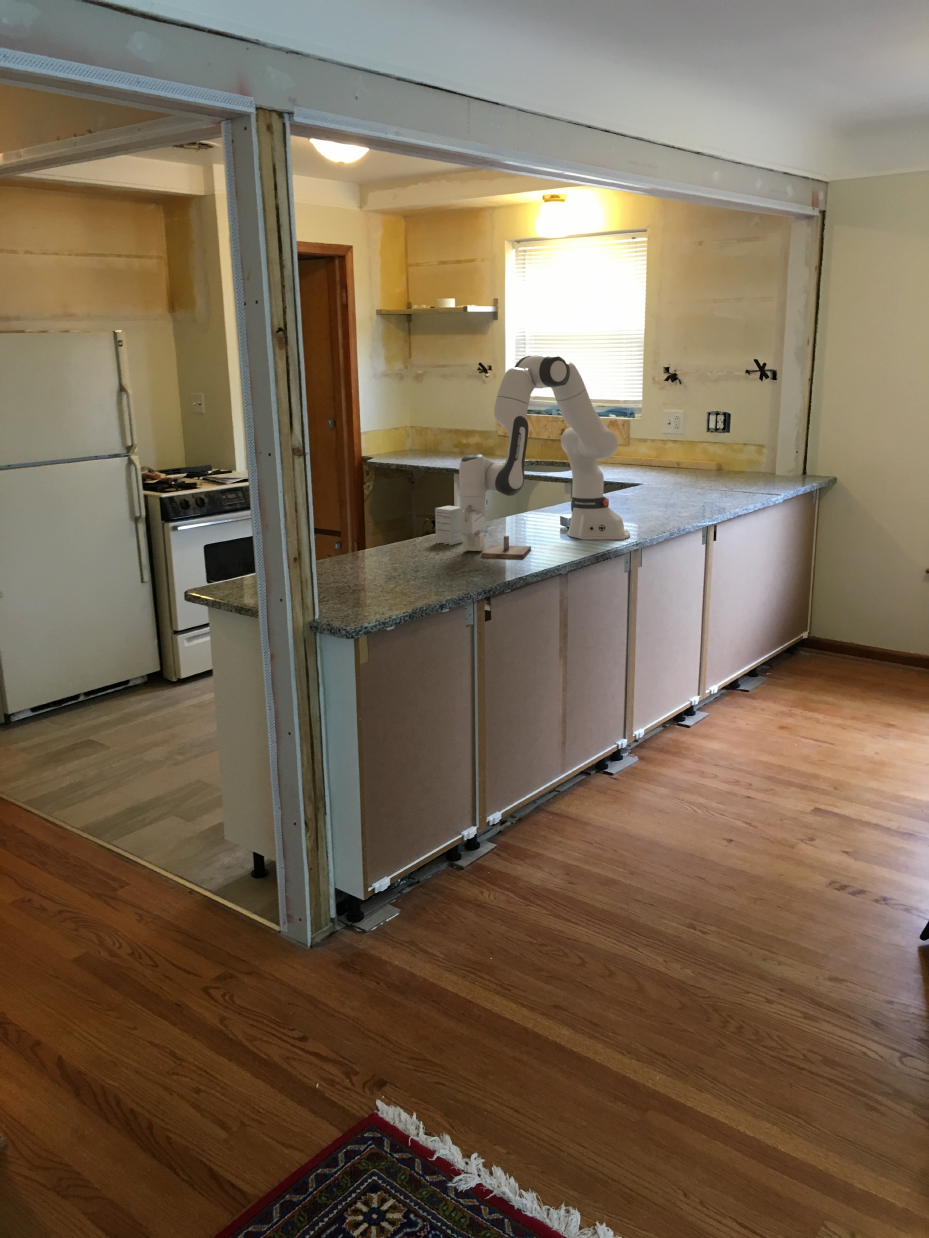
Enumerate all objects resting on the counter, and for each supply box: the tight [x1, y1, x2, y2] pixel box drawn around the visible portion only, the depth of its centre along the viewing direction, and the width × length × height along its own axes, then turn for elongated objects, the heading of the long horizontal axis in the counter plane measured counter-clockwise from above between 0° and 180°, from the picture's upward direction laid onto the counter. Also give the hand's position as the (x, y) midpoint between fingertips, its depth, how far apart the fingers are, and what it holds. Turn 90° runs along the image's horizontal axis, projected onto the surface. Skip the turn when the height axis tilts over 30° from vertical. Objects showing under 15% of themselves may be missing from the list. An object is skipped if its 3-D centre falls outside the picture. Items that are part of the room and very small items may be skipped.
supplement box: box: [434, 505, 464, 546], centre depth 352 cm, size 7×7×13 cm
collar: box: [462, 532, 486, 552], centre depth 337 cm, size 6×6×5 cm
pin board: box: [480, 535, 532, 560], centre depth 332 cm, size 14×14×6 cm
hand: (473, 543), depth 337 cm, fingers closed on collar, 6 cm apart
